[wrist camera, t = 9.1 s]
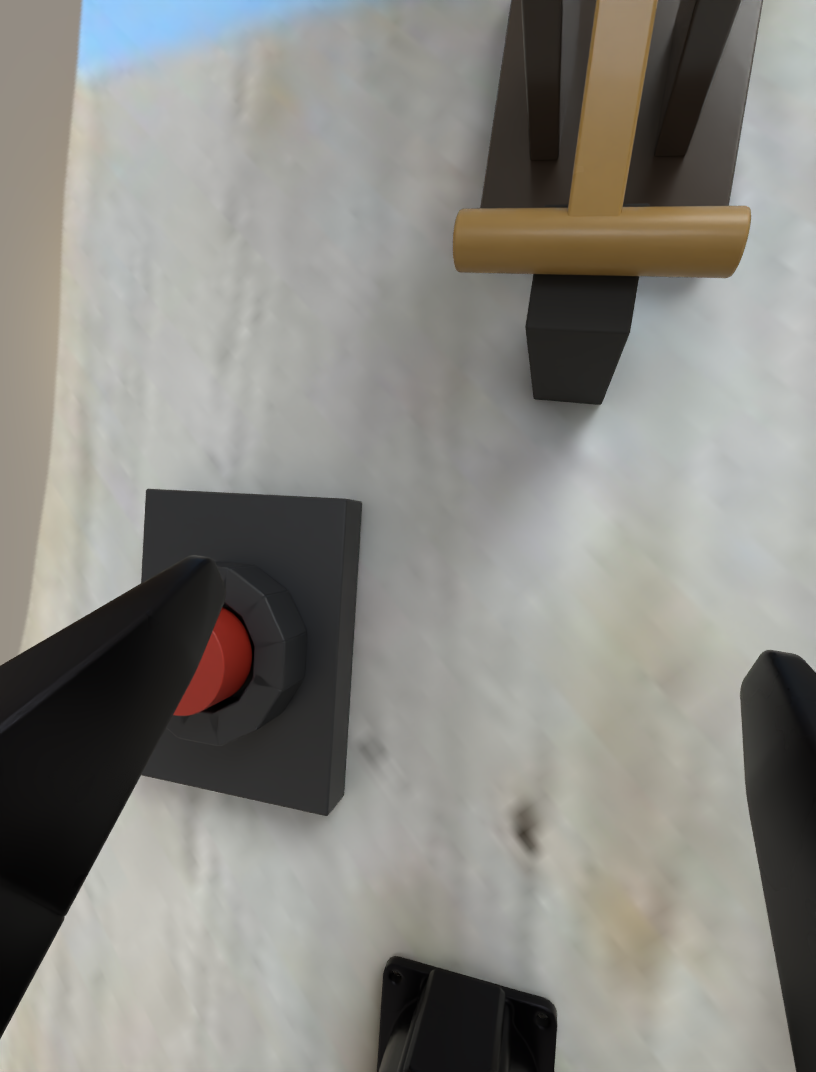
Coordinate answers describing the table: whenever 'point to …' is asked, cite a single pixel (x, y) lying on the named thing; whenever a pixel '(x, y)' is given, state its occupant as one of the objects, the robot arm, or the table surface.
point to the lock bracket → (664, 115)
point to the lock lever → (606, 188)
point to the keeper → (577, 332)
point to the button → (219, 666)
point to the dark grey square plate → (267, 642)
